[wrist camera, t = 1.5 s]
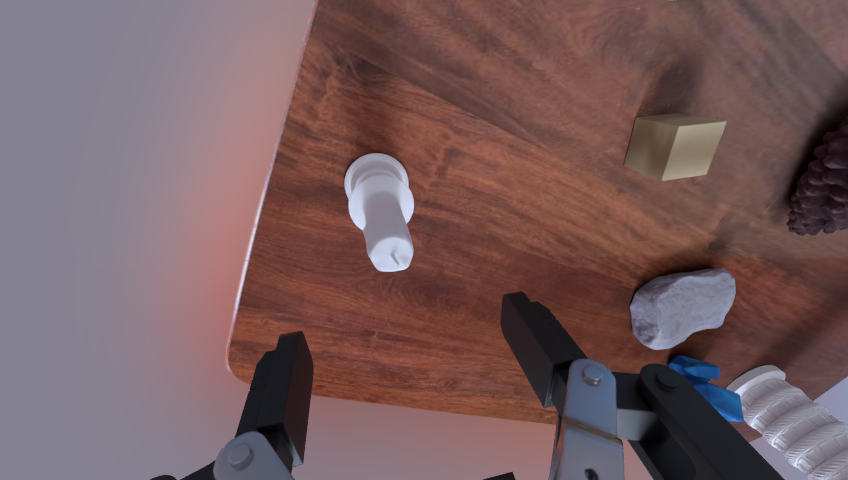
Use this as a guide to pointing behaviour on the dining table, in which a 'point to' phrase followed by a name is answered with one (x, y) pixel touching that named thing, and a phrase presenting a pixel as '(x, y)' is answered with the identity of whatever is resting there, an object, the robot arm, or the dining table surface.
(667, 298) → the stone block
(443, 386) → the dining table surface
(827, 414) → the decorative container
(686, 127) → the block
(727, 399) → the crystal
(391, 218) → the candle
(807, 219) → the pine cone
